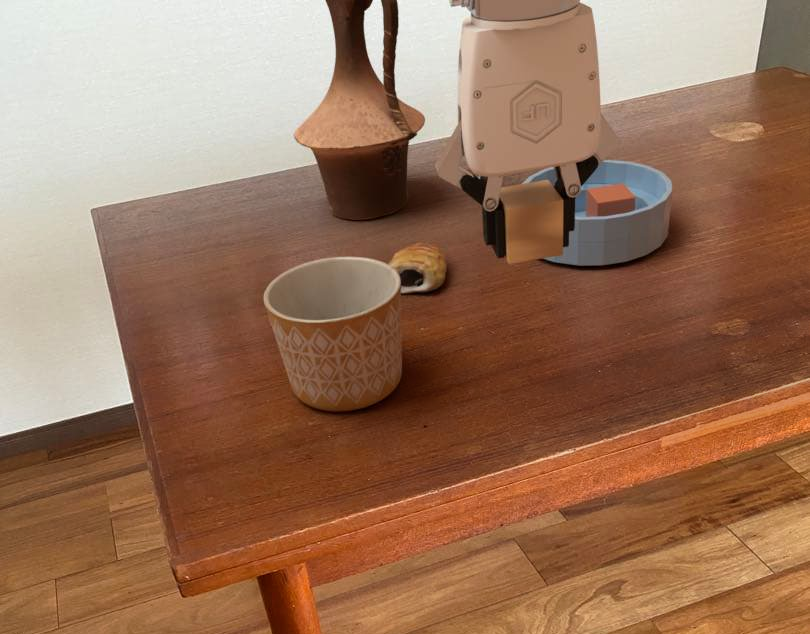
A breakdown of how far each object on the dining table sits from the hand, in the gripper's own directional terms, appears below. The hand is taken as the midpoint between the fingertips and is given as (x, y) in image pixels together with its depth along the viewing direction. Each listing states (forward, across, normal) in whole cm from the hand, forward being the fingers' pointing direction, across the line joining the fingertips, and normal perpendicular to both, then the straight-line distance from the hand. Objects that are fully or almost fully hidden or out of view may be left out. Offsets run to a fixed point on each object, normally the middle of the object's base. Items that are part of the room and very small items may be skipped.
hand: (528, 243), depth 73 cm
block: (0, 0, 0) cm, 0 cm away
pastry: (+15, -7, +27) cm, 32 cm away
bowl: (+15, +15, +31) cm, 38 cm away
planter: (+15, -17, +8) cm, 24 cm away
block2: (+15, +17, +31) cm, 39 cm away
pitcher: (+15, -10, +51) cm, 54 cm away
